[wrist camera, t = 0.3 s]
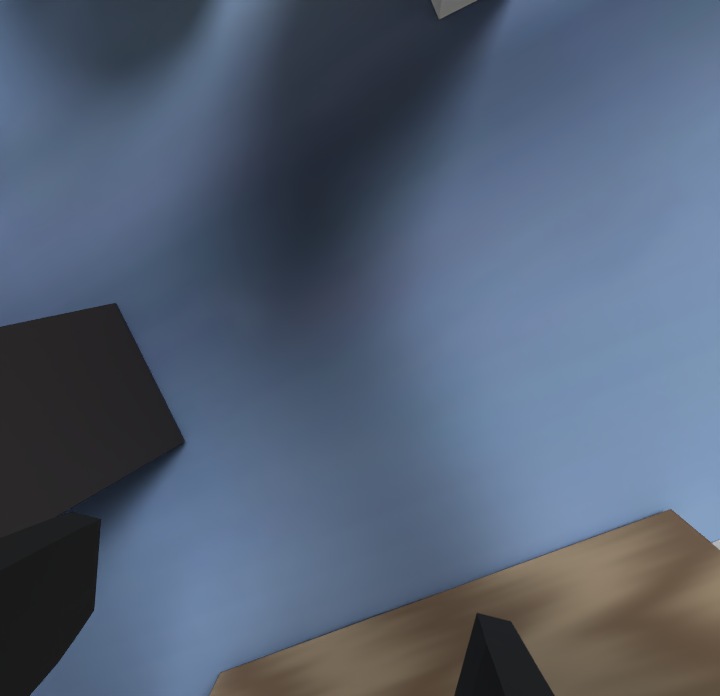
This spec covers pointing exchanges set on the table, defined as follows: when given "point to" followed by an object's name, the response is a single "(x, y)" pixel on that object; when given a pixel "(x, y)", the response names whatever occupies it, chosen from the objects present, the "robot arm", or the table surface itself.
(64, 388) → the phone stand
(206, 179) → the table surface
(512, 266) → the table surface
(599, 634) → the door
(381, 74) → the table surface
